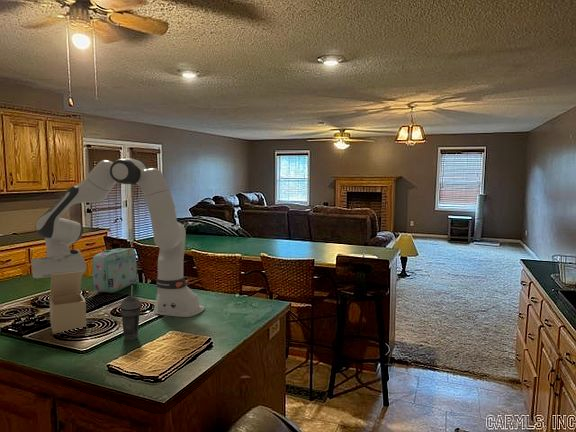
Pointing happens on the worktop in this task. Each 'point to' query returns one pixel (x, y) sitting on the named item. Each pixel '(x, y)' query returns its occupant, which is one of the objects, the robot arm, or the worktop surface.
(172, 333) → the worktop surface
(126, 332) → the beverage cup
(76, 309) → the mailer box
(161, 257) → the robot arm
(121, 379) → the worktop surface
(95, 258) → the lunch box
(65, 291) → the lid
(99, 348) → the worktop surface
